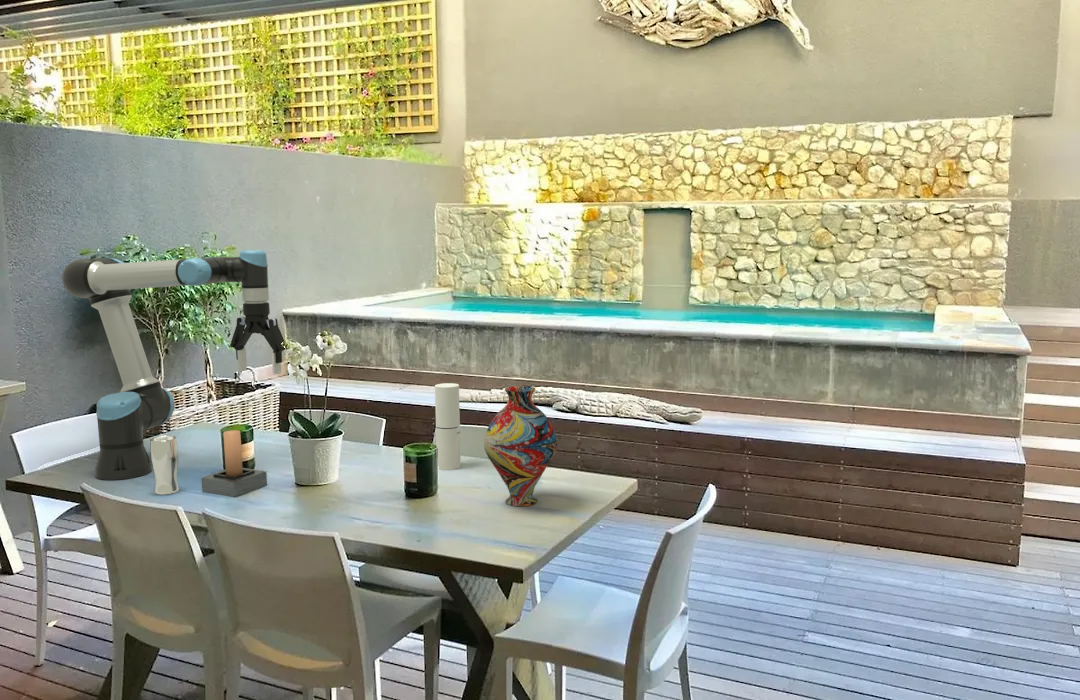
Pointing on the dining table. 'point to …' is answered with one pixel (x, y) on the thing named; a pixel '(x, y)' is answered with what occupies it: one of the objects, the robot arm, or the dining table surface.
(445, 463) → the cylindrical container
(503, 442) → the vase
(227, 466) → the terracotta peg
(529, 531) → the dining table surface
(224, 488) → the collar block
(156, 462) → the beer glass
